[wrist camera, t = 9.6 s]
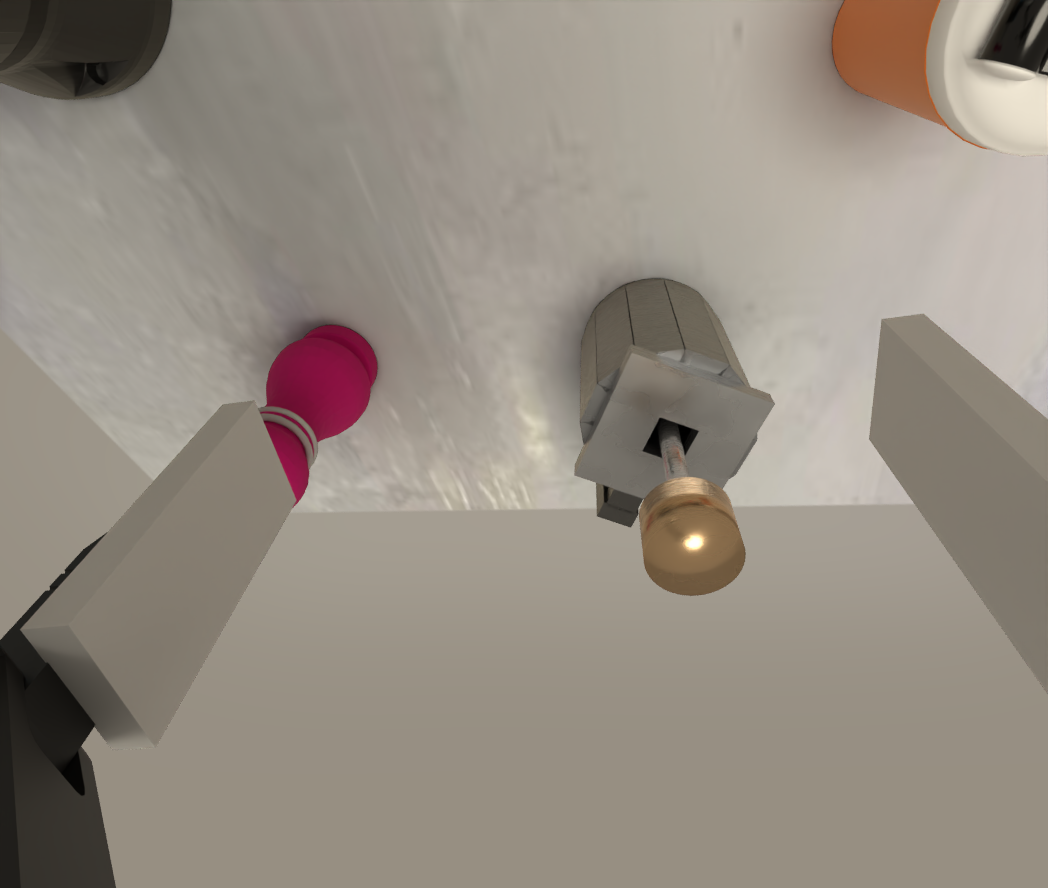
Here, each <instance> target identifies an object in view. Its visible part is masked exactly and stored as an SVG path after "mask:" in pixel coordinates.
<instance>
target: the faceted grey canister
mask: <svg viewBox="0 0 1048 888" xmlns="http://www.w3.org/2000/svg"><path fill="white" fill-rule="evenodd" d="M774 404H775V403H774V402H773V400H772V398H771V396H770V394H768V393H765V392H763V391H760V390H757V389H754V388H751V387H750V385H749V383H748V380H747V378H746V376H745V374H744V372H743V369H742V367H741V365H740V363H739V361H738V359H737V356H736V354H735V352H734V350H733V348H732V346H731V343H730V341H729V339H728V337H727V335H726V333H725V330H724V328H723V326H722V324H721V322H720V320H719V319H718V317H717V316H716V315H715V313H714V312H713V310H712V309H711V307H710V305H709V304H708V303H707V301H706V300H705V299H704V298H703V297H702V296H701V295H700V293H698V292H696V291H695V290H693V289H692V288H690V287H688V286H686V285H684V284H682V283H679V282H676V281H673V280H667V279H655V278H652V279H643V280H639V281H634V282H632V283H629V284H626V285H624V286H622V287H620V288H618V289H616V290H615V291H613V292H612V293H610V294H609V295H608V296H607V297H606V298H604V299H603V300H602V301H601V303H600V304H599V305H598V306H597V307H596V309H595V310H594V312H593V313H592V315H591V317H590V319H589V321H588V323H587V326H586V329H585V334H584V336H583V339H582V341H581V389H580V426H581V432H582V438H583V443H584V446H583V448H582V450H581V452H580V454H579V457H578V459H577V461H576V463H575V476H578V477H581V478H584V479H587V480H590V481H593V482H596V497H597V516H598V517H601V518H604V519H607V520H610V521H613V522H616V523H619V524H622V525H625V526H628V527H631V526H632V525H633V523H634V521H635V519H636V517H637V516H638V508H639V506H640V504H641V502H642V500H643V499H645V497H646V496H647V495H648V494H649V492H650V491H652V490H653V489H654V488H655V487H657V486H658V485H660V484H662V483H664V482H666V475H665V470H664V464H663V458H662V453H661V447H660V442H659V436H658V430H657V425H656V424H657V422H658V420H659V418H660V417H661V418H664V419H667V420H669V421H672V422H675V423H677V424H678V428H679V433H680V437H681V442H682V446H683V450H684V455H685V459H686V463H687V468H688V472H689V476H690V477H696V478H702V479H705V480H708V481H710V482H713V483H714V484H716V485H718V486H719V487H720V488H721V489H723V487H724V486H725V484H726V482H727V481H728V479H730V478H732V477H733V476H735V475H736V473H737V472H738V470H739V468H740V467H741V465H742V464H743V462H744V460H745V459H746V457H747V456H748V454H749V452H750V451H751V449H752V447H753V446H754V444H755V443H756V441H757V432H758V430H759V429H760V427H761V426H762V424H763V422H764V421H765V419H766V417H767V416H768V414H769V413H770V411H771V409H772V408H773V406H774Z"/></svg>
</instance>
